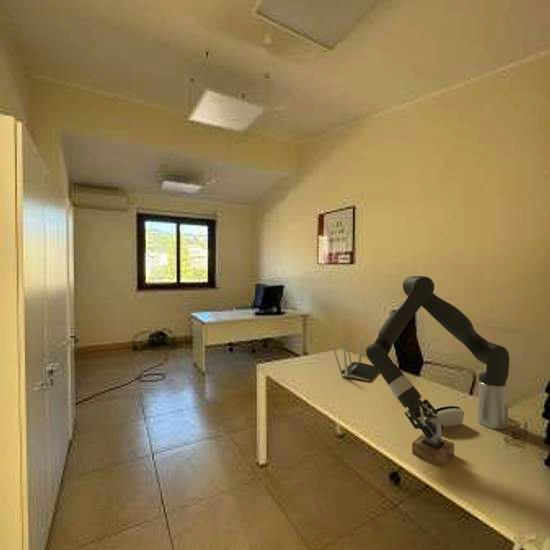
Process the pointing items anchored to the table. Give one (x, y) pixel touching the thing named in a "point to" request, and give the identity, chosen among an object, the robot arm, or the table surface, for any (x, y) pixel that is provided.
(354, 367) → the wireless router
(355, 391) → the table surface
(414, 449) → the socket block
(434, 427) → the square bit
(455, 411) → the white rounded block
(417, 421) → the robot arm
